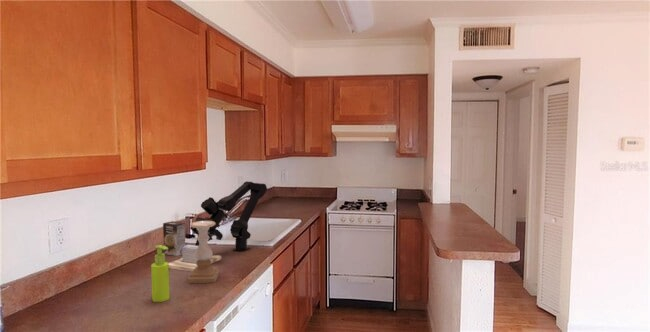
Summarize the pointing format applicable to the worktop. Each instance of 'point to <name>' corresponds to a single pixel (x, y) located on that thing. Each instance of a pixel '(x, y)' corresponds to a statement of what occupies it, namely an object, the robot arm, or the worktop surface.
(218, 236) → the robot arm
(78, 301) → the worktop surface
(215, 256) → the pocket board
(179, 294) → the worktop surface
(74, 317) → the worktop surface
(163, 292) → the soap dispenser
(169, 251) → the coffee box
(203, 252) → the candle holder
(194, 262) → the medicine box
